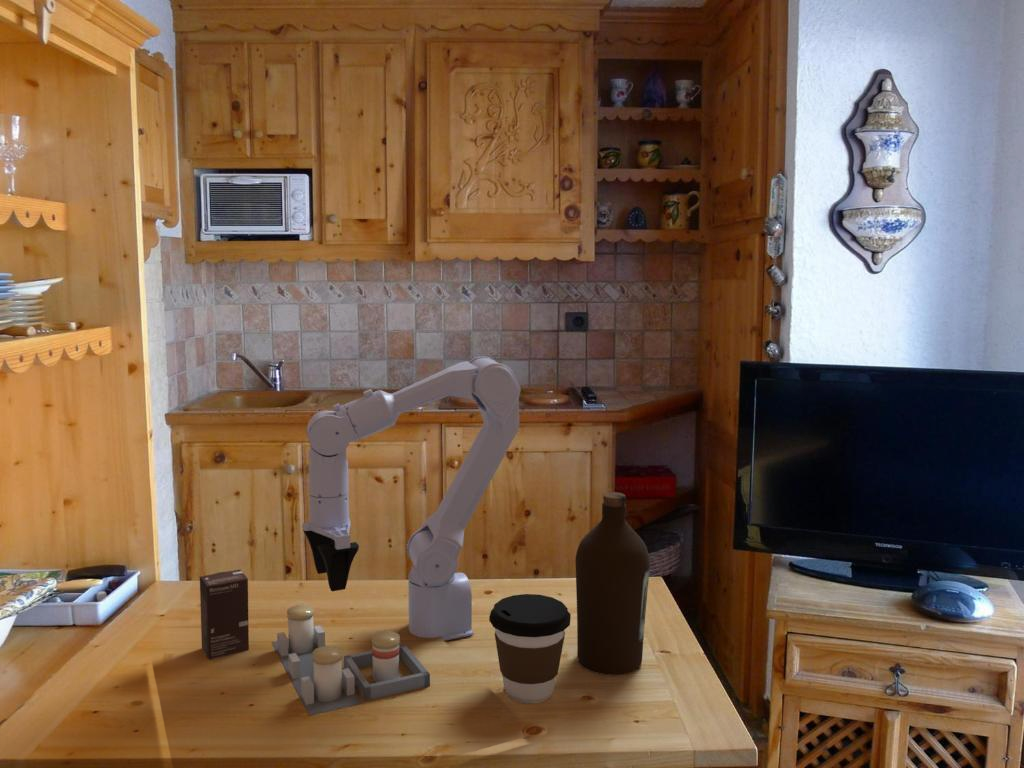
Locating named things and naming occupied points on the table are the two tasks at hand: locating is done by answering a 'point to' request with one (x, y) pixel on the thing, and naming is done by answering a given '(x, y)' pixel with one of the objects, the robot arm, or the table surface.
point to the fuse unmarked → (327, 673)
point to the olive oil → (611, 592)
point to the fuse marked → (385, 656)
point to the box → (224, 613)
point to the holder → (303, 675)
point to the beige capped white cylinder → (300, 629)
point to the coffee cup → (529, 644)
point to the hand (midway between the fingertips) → (330, 580)
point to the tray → (388, 686)
